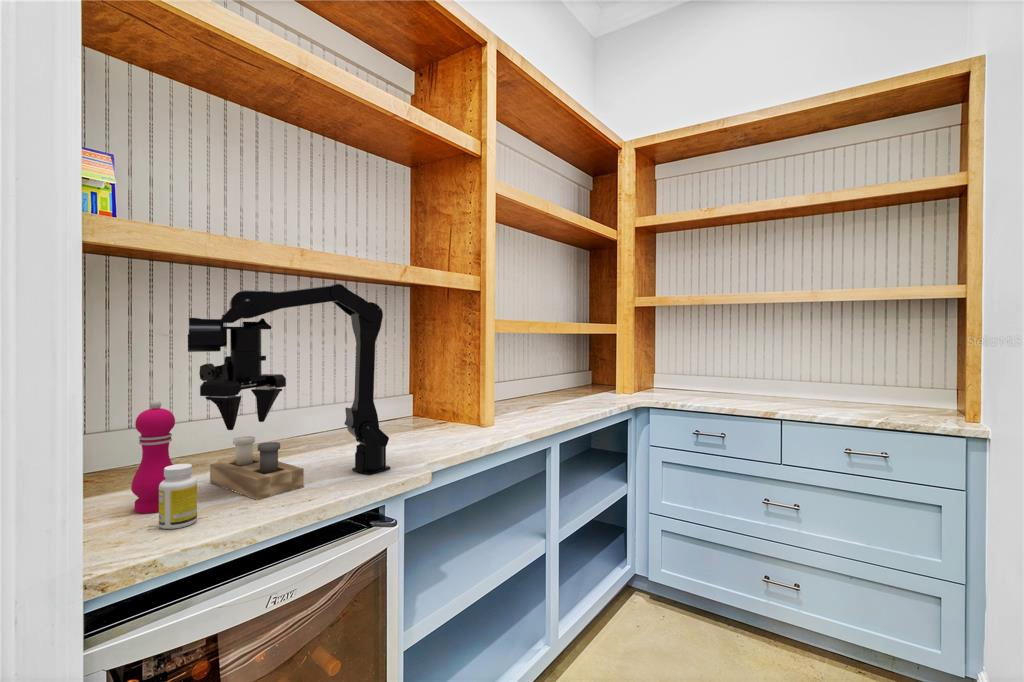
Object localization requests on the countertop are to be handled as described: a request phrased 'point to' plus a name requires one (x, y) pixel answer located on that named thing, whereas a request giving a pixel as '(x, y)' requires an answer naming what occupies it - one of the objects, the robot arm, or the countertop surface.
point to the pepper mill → (152, 456)
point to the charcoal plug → (268, 457)
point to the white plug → (243, 450)
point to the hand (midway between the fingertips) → (246, 425)
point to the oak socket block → (256, 478)
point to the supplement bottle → (177, 497)
